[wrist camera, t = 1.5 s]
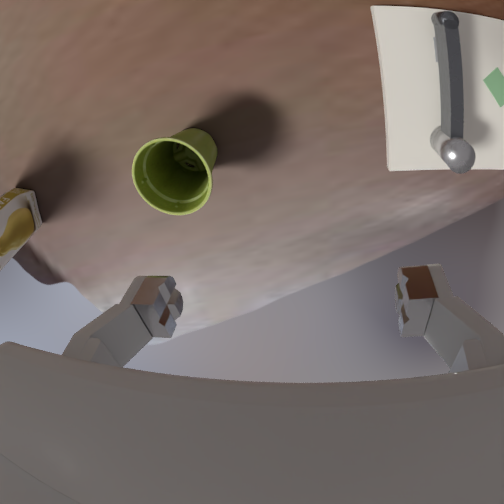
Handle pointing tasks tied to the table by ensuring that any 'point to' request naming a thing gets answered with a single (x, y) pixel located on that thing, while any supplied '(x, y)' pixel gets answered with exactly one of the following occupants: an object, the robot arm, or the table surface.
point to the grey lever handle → (450, 96)
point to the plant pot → (176, 171)
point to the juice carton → (17, 221)
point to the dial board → (438, 86)
